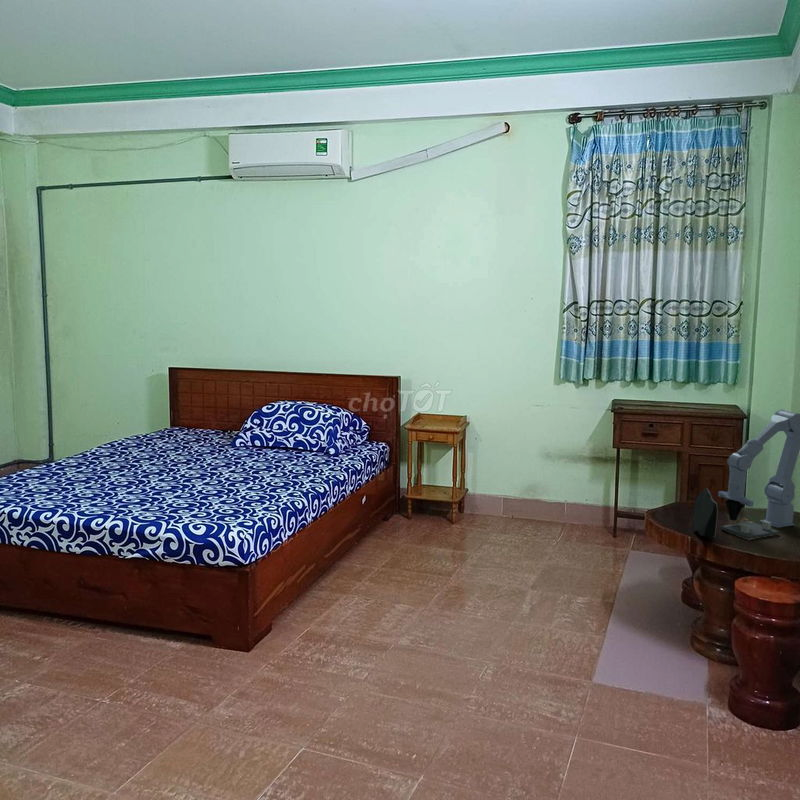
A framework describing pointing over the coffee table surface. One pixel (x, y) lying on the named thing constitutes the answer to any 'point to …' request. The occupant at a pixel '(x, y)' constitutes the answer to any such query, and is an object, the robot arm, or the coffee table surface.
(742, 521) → the block
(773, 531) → the breaker board
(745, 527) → the block
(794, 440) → the robot arm
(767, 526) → the breaker
